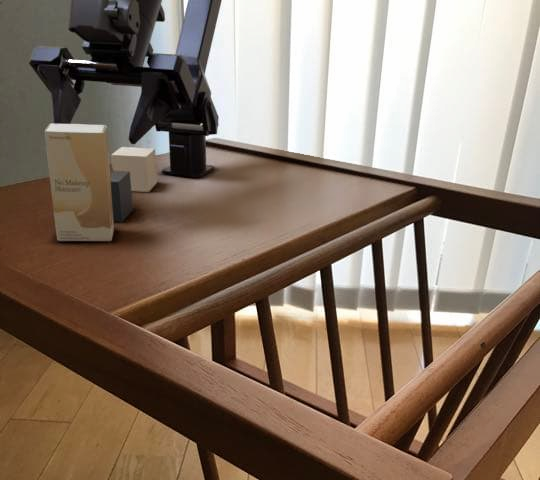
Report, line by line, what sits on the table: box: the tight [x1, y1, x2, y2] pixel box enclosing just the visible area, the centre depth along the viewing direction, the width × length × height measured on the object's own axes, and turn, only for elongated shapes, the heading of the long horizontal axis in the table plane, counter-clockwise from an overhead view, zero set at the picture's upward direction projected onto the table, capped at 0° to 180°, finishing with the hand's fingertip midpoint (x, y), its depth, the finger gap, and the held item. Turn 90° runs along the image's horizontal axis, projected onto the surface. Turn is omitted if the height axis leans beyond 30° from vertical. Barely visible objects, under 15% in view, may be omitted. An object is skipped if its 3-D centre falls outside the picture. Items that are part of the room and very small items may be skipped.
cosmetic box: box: [44, 123, 115, 242], centre depth 70 cm, size 6×4×12 cm
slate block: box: [110, 170, 134, 223], centre depth 79 cm, size 5×5×5 cm
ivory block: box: [110, 146, 158, 193], centre depth 91 cm, size 5×5×5 cm
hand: (94, 138), depth 71 cm, fingers open, 9 cm apart
